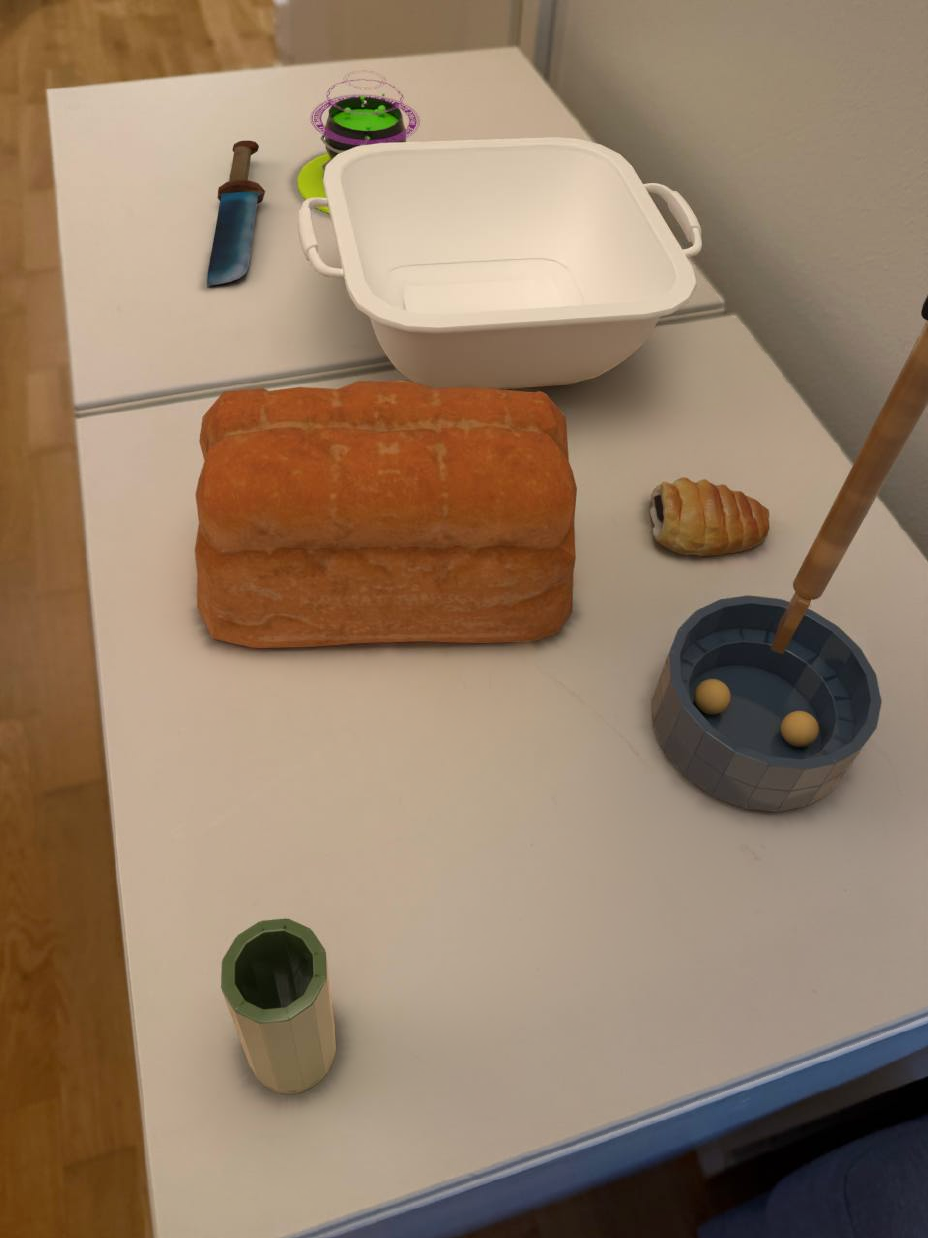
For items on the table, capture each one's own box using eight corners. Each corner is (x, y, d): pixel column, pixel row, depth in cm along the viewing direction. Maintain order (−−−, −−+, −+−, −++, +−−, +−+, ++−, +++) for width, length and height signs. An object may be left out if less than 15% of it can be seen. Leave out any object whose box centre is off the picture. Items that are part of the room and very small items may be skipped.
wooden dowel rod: (790, 657, 63) (1041, 208, 39) (762, 647, 63) (994, 196, 40) (798, 630, 64) (1045, 181, 41) (771, 620, 65) (1000, 169, 41)
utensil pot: (310, 1109, 52) (294, 1040, 43) (232, 1071, 53) (200, 995, 44) (350, 1025, 55) (344, 943, 45) (276, 990, 56) (255, 903, 46)
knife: (248, 267, 95) (196, 272, 95) (256, 294, 97) (206, 299, 98) (268, 128, 109) (222, 132, 109) (275, 154, 111) (230, 159, 112)
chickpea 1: (720, 726, 68) (730, 706, 66) (686, 713, 68) (695, 693, 67) (728, 699, 69) (738, 679, 68) (695, 687, 70) (703, 667, 68)
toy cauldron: (297, 149, 114) (290, 46, 106) (428, 151, 116) (432, 49, 108) (297, 219, 105) (289, 112, 97) (439, 220, 107) (444, 115, 98)
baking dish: (619, 249, 106) (644, 128, 96) (713, 426, 88) (755, 301, 79) (292, 267, 100) (282, 139, 90) (325, 461, 83) (317, 330, 73)
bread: (577, 648, 72) (615, 496, 60) (197, 656, 69) (159, 500, 58) (552, 509, 81) (580, 353, 69) (213, 512, 78) (183, 350, 66)
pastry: (756, 503, 83) (770, 468, 80) (772, 564, 79) (788, 530, 76) (643, 498, 82) (653, 463, 79) (654, 560, 78) (664, 526, 75)
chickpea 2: (808, 759, 67) (820, 739, 65) (772, 745, 67) (783, 726, 65) (814, 731, 68) (826, 711, 66) (779, 718, 69) (791, 698, 67)
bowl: (827, 847, 63) (863, 801, 59) (626, 768, 66) (644, 718, 61) (860, 689, 71) (894, 637, 67) (679, 624, 74) (699, 570, 69)
